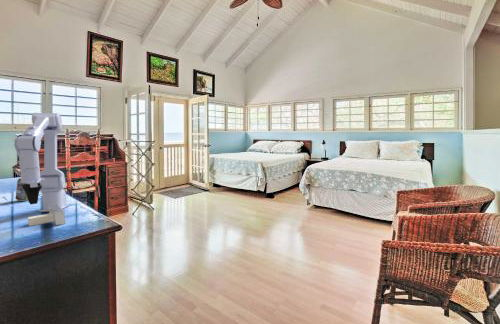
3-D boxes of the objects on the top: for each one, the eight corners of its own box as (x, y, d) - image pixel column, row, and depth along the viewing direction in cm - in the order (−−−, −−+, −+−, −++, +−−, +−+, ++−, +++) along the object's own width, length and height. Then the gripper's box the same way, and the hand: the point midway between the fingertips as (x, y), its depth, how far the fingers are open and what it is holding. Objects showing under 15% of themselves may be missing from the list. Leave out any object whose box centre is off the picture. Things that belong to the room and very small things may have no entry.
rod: (29, 226, 102) (28, 219, 102) (28, 224, 104) (27, 217, 104) (64, 220, 110) (63, 212, 110) (62, 218, 112) (61, 211, 112)
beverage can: (15, 200, 140) (13, 177, 139) (33, 198, 146) (31, 176, 144) (16, 202, 136) (13, 179, 135) (34, 200, 141) (32, 177, 140)
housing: (49, 217, 113) (48, 206, 112) (58, 215, 115) (57, 204, 114) (56, 225, 103) (55, 213, 102) (65, 223, 105) (64, 211, 104)
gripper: (46, 168, 99) (49, 204, 101) (40, 165, 109) (43, 198, 111) (21, 170, 94) (25, 208, 96) (17, 167, 104) (20, 201, 106)
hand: (33, 203), depth 103 cm, fingers closed
